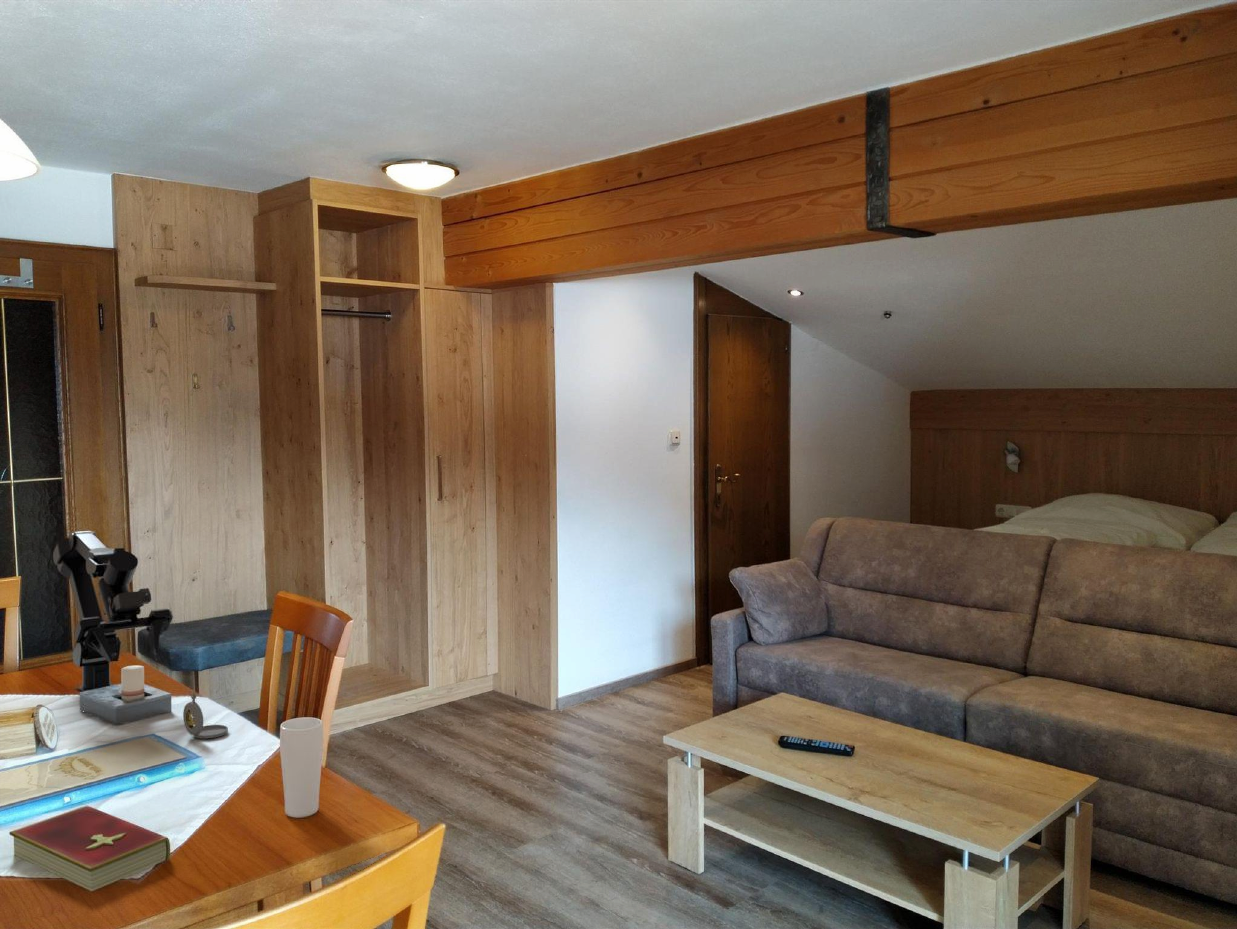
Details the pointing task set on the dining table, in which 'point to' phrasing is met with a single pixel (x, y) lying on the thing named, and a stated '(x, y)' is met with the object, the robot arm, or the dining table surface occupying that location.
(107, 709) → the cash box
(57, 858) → the hardcover book
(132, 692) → the coin roll
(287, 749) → the drinking glass
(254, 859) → the dining table surface
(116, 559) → the robot arm
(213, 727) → the pocket watch
